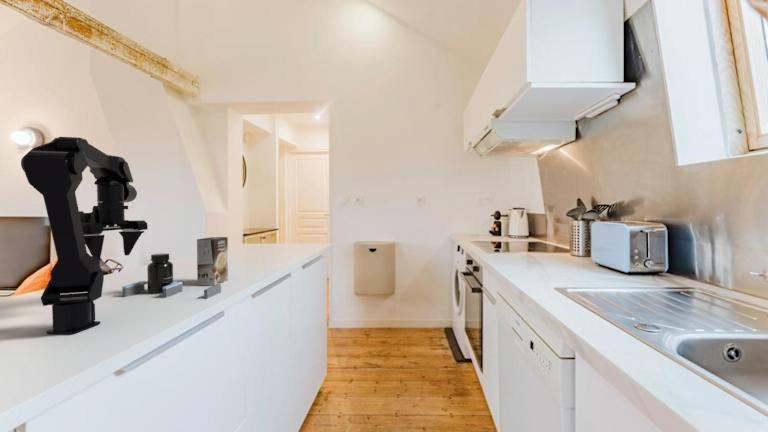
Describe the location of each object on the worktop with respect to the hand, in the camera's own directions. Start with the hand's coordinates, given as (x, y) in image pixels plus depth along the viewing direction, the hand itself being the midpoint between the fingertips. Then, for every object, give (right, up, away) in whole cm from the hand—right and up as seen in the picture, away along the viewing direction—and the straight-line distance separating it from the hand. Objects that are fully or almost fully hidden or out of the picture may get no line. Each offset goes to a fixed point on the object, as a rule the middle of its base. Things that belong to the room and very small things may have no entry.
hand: (112, 257), depth 91 cm
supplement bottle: (+4, -13, +14) cm, 19 cm away
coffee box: (+15, -12, +26) cm, 32 cm away
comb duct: (+10, -13, +10) cm, 19 cm away
